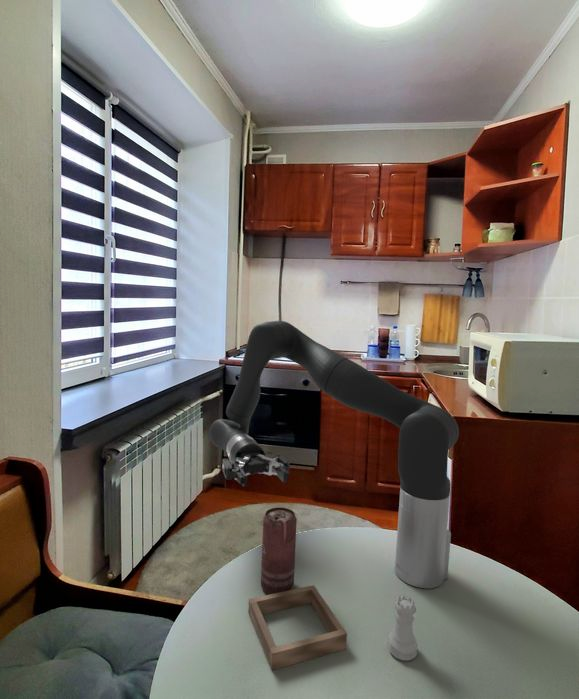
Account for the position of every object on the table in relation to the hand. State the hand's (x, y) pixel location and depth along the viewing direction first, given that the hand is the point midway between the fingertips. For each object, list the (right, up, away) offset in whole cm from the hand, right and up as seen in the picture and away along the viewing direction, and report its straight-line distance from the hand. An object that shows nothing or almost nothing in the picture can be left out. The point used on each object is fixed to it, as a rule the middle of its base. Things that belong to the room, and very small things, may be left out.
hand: (265, 479), depth 86 cm
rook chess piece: (+22, -19, -22) cm, 37 cm away
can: (+3, -17, -8) cm, 19 cm away
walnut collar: (+6, -18, -19) cm, 27 cm away
